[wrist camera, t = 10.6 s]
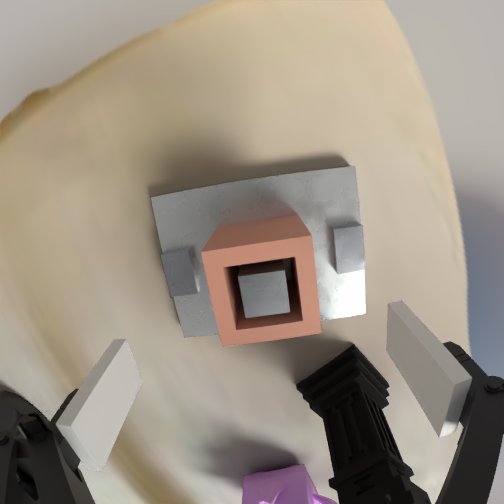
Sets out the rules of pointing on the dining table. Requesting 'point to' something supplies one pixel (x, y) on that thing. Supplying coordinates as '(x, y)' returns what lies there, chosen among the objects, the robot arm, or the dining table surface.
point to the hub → (258, 250)
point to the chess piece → (359, 433)
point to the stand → (273, 271)
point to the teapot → (282, 487)
